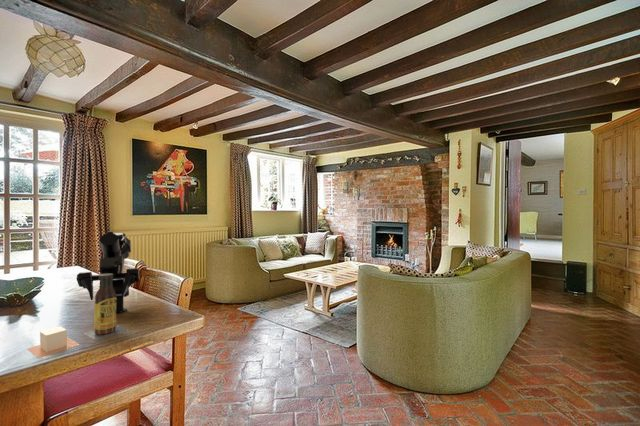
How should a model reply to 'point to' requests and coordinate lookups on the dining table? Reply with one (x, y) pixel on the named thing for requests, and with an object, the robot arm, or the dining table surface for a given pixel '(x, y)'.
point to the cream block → (53, 339)
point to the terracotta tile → (40, 352)
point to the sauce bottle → (105, 306)
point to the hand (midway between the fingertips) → (107, 297)
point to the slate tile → (98, 337)
